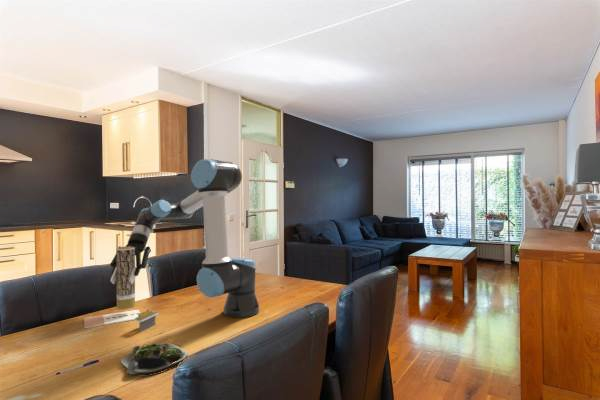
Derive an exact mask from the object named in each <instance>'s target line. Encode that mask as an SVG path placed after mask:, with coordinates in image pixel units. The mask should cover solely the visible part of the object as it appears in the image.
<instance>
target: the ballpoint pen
mask: <svg viewBox="0 0 600 400" xmlns="http://www.w3.org/2000/svg"><path fill="white" fill-rule="evenodd" d="M99 361H100V360H99V359H94V360H91V361H90V360H89V361H88V362H86V363H83V364H81V365H77V366H74V367H70V368H69V369H65V370H61V371H59V372H57V373H55V374H56V375H60V373H61V374H65V373H67V371H68V372H71V371H73V369H74V370H76V369H77V370H78V369H80V368H83V366H84V367H86V366H89V365H93V364H96V363H99ZM70 370H71V371H70Z"/></svg>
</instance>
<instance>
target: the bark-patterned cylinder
mask: <svg viewBox="0 0 600 400" xmlns="http://www.w3.org/2000/svg"><path fill="white" fill-rule="evenodd" d="M116 253H117V279H116V308H117V309H118V310H129V309H132V308H134V307H135V305H136V278H135V279H134V282H133V284H131V283H130V282H129V279H130V276H131V273H132V271H133V268H134V267H136V256H135V247H131V246H128V247H125V246H121V247H119V246H118V247H116Z"/></svg>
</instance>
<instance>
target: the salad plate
mask: <svg viewBox="0 0 600 400" xmlns="http://www.w3.org/2000/svg"><path fill="white" fill-rule="evenodd" d="M186 357H187V358H188V351H186V350H185V349H182V348H181V347H179V346H177V345H175V344H173V343H158V344H157V343H151V344H148V345H145V344H143V345H142V346H141V347H140V346H139V345H136V346H134V347H133V349H132V352H130V353H128V354H126V355H125V356H123V358H121V364H122V365H123V367H125V368H126V372H127V374H128V375H135V376H138V375H149V376H151V375H150V374H154V373H158V372H161V371H164V370H166V369H169V368H172V367H174V368H176V367H178V366H177V365H178V364H179V363H180V362H182V361H183V360H184V359H185V358H186ZM187 358H186V359H187ZM175 361H176V362H175ZM173 362H175V363H173ZM172 363H173V364H172ZM175 366H176V367H175ZM172 369H173V368H172ZM169 370H170V369H169ZM166 371H167V370H166ZM164 372H165V371H164ZM161 373H162V372H161ZM158 374H159V373H158ZM154 375H155V374H154Z"/></svg>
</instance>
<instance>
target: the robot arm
mask: <svg viewBox="0 0 600 400" xmlns="http://www.w3.org/2000/svg"><path fill="white" fill-rule="evenodd" d="M242 178H243V175H242V171H241V169H240V167H239V166H238V165H237V164H235V163H234V162H231V161H224V160H217V159H213V158H203V159H200V160H198V161H197V162H196V163H195V165H194V166H193V168H192V170H191V175H190V181H191V183H192V184H193V187H195V188H197V190H196V191H194V192H193V193H191V194H190V195H188V196H187V197H186V198H184V199H182V200H180V201H179V202H178V203H170V202H168V201H166V200H165V199H160V200H157V201H156V202H154V203H153V204H152V205H151V206H150V207H146V208H145V207H144V208H142V209H141V210H140V212H139V213H138V217H137V219H136V222H135V223H134V227H133V229H132V231H131V234H130V236H129V239H128V240H127V244H126V245H125V246H124V247H128V246H131V247H135V267H134V268H133V271H132V273H131V276H130V279H129V282H130V283H131V284H133V282H134V279H135V280H136V277H138V276H139V274H140V271H141V269H146V268H147V263H148V260H149V257H150V253H151V251H152V249H151V247H150V246H146V245H147V243H148V240H149V238H150V236H151V232H152V229H153V227H154V226H155V225H156V224H157V223H158V222H160V221H162V220H163V221H164V220H180V219H181V220H182V219H183V220H184V219H190V218H192V217H193V215H194V213H195V211H197V210H199V209H201V208H203V209H202V210H203V213H202V214H203V228H204V246H205V258H204V259H203V261H202V264H201V266H202V268H201V269H199V270H198V272H197V275H196V284H197V287H198V289H199V291H200V292H201V293H202V294H203V295H204V296H205V297H208V298H216V297H220V296H223V295H225V294H227V295H226V300H225V303H224V306H223V314H224V315H225V316H226V317H229V318H241V319H242V318H247V317H248V318H249V317H253V316H256V315H257V314H259V312H260V305H259V302H258V298H257V294H256V262H255V260H254V259H251V258H241V257H230V256H229V252H228V234H227V214H226V201H225V197H226V195H228V194H229V193H231V192H233V191H235V190H236V189H237V188H238V187H239V186H240V184H241V183H242V180H243V179H242ZM118 247H122V246H118ZM142 252H143V256H142V255H141V253H142ZM141 257H142V260H141ZM109 265H110V267H111V268H112V271H111V273H110V274H111V275H112V276H111V277H110V283H111V284H112V285H115V284H116V283H117V252H116V253H115V255H114V257H112V260H111V262H110V264H109Z"/></svg>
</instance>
